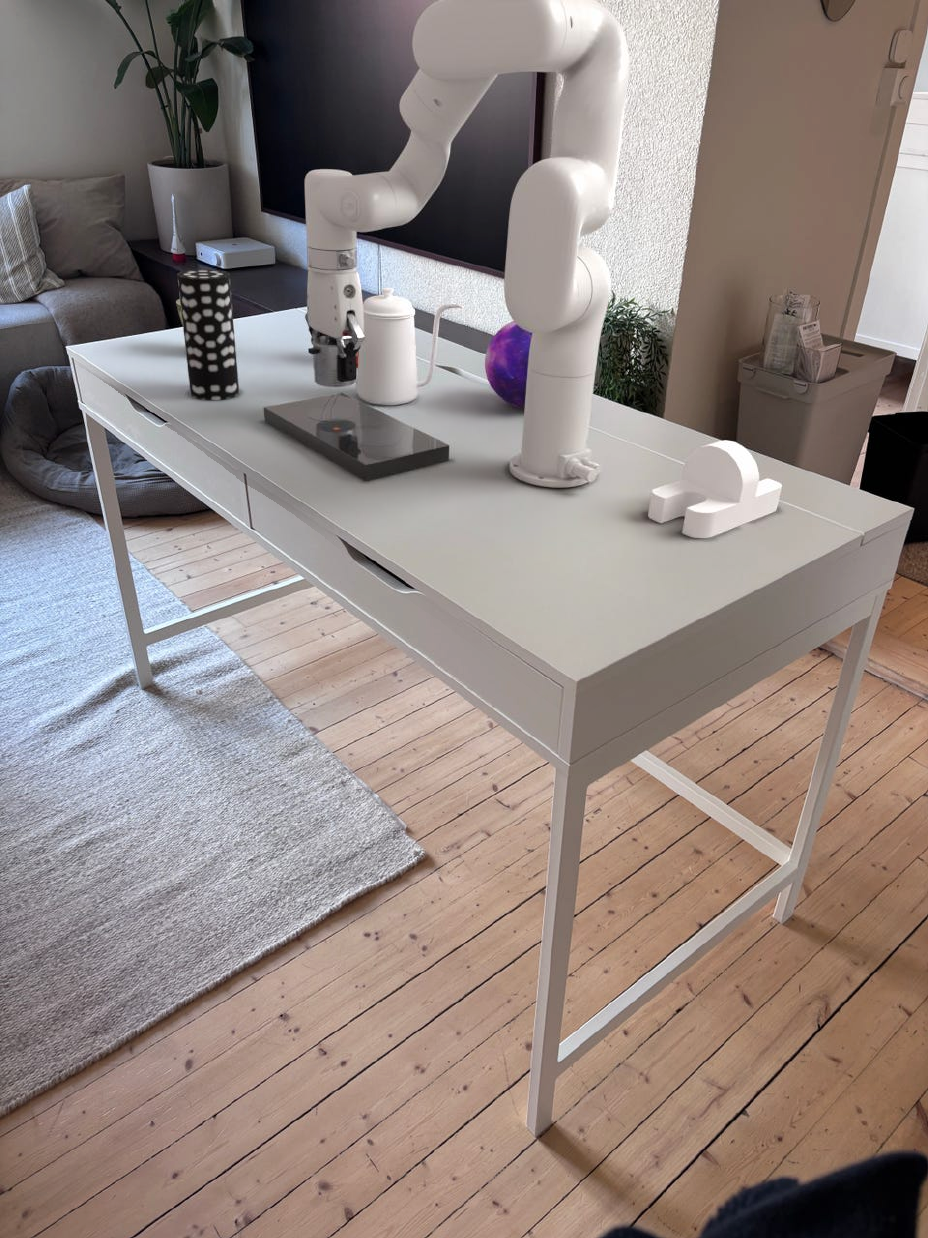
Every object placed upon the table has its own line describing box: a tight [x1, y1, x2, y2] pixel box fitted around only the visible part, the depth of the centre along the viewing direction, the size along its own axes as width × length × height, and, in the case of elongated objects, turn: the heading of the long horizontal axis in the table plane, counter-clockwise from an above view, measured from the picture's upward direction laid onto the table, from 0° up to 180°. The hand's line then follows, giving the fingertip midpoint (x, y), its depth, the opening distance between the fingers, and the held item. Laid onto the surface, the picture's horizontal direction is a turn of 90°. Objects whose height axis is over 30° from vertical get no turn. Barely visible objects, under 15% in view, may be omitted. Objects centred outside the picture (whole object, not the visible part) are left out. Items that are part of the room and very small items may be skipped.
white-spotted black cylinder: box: [177, 268, 240, 401], centre depth 159 cm, size 8×8×20 cm
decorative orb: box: [484, 320, 532, 408], centre depth 162 cm, size 15×15×15 cm
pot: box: [307, 336, 356, 388], centre depth 151 cm, size 7×9×7 cm
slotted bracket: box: [647, 439, 783, 539], centre depth 126 cm, size 18×10×10 cm, turn 130°
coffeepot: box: [355, 286, 465, 406], centre depth 162 cm, size 11×25×19 cm, turn 84°
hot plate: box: [263, 392, 450, 482], centre depth 146 cm, size 30×15×2 cm, turn 39°
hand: (335, 373), depth 152 cm, fingers closed on pot, 6 cm apart
